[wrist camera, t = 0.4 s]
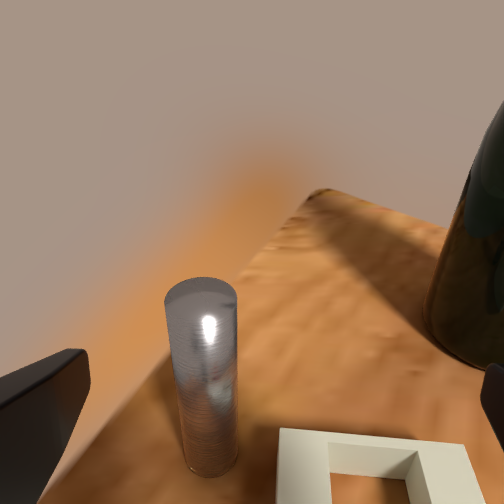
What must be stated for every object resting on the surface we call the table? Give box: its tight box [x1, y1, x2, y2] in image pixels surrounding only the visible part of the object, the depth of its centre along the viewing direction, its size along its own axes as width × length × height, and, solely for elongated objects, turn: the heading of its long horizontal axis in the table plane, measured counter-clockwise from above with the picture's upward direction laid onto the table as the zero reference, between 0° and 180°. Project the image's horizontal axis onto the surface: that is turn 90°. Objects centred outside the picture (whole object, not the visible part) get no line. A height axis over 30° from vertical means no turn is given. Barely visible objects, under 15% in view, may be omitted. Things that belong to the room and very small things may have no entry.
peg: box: [164, 277, 238, 478], centre depth 21 cm, size 3×3×12 cm
